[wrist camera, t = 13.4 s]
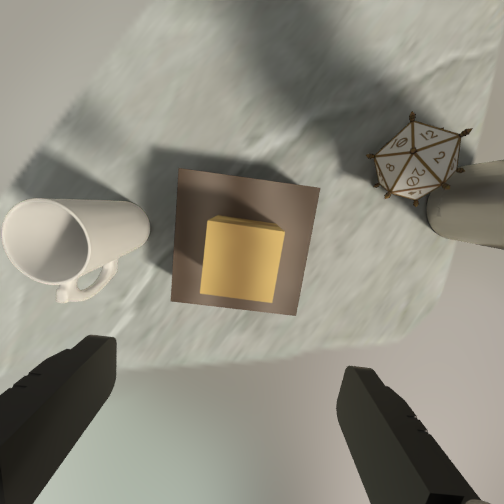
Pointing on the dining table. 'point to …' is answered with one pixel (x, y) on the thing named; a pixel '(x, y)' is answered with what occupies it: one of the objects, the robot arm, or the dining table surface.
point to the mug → (72, 240)
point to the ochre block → (241, 258)
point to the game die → (418, 160)
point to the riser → (245, 207)
